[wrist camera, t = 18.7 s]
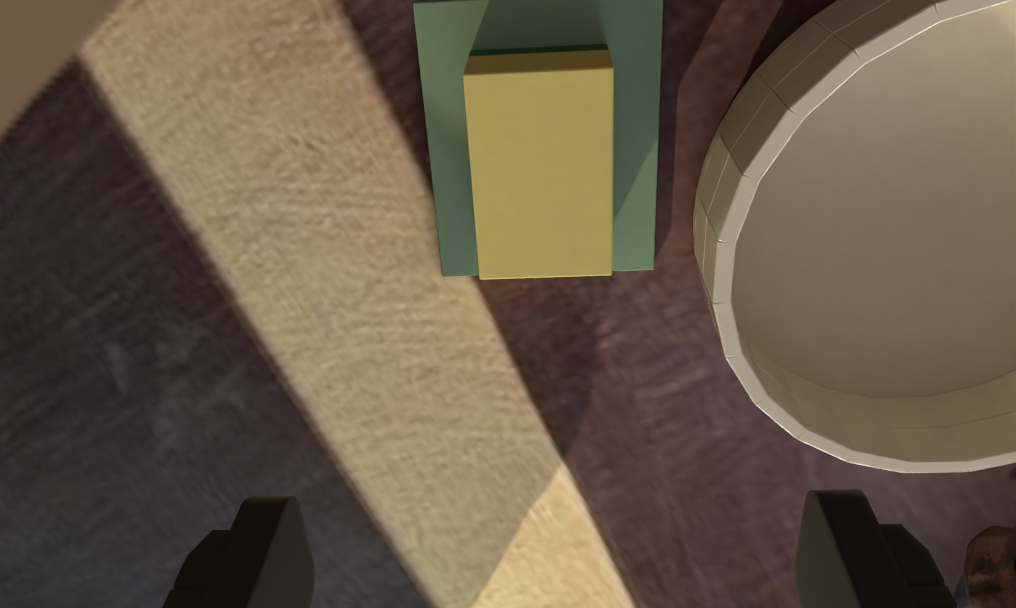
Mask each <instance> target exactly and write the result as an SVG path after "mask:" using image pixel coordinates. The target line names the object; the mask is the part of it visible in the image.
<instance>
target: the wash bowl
mask: <svg viewBox="0 0 1016 608" xmlns="http://www.w3.org/2000/svg"><path fill="white" fill-rule="evenodd" d="M693 243H694V251H695V257H696V262H697V269H698V272H699V275H700V278H701V282H702V286H703V290H704V295H705V299H706V302H707V305H708V308H709V311H710V314H711V317H712V320H713V323H714V326H715V329H716V331H717V334H718V337H719V340H720V343H721V346H722V349H723V352H724V355H725V357H726V360H727V361H728V363H729V364H730V366H731V368H732V369H733V371H734V372H735V374H736V376H737V377H738V379H739V380H740V382H741V384H742V385H743V387H744V388H745V390H746V392H747V393H748V395H749V396H750V398H751V400H752V401H753V402H754V403H755V405H756V406H758V407H759V408H760V409H761V410H762V411H763V412H765V413H766V414H767V415H768V416H769V417H770V418H772V419H773V420H774V421H775V422H776V423H778V424H779V425H780V426H781V427H782V428H783V429H785V430H786V431H787V432H788V433H789V434H791V435H792V436H793V437H794V438H796V439H797V440H800V441H802V442H804V443H806V444H808V445H811V446H813V447H815V448H817V449H819V450H822V451H824V452H826V453H828V454H830V455H833V456H835V457H837V458H839V459H841V460H844V461H847V462H848V463H854V464H859V465H864V466H869V467H875V468H880V469H885V470H890V471H896V472H901V473H905V472H906V473H938V472H968V471H969V472H972V471H976V470H981V469H986V468H991V467H996V466H1001V465H1006V464H1011V463H1016V0H837V1H835V2H834V3H832V4H831V5H829V6H828V7H827V8H825V9H824V10H822V11H821V12H819V13H818V14H816V15H815V16H813V17H812V18H810V19H809V20H808V21H807V22H806V23H804V24H803V25H802V26H801V27H800V28H798V29H797V30H796V31H795V32H794V33H793V34H791V35H790V36H789V37H788V38H787V39H786V40H784V41H783V42H782V43H781V44H780V45H779V46H778V47H777V48H776V49H775V50H774V51H773V52H772V53H771V55H770V56H769V57H768V58H767V59H766V60H765V61H764V62H763V63H762V64H761V65H760V66H759V67H758V68H757V69H756V71H755V72H754V73H753V75H752V76H751V77H750V79H749V80H748V81H747V83H746V84H745V85H744V87H743V88H742V89H741V91H740V92H739V93H738V95H737V96H736V97H735V99H734V101H733V102H732V104H731V106H730V108H729V109H728V111H727V113H726V115H725V116H724V118H723V120H722V122H721V123H720V125H719V127H718V129H717V131H716V133H715V136H714V138H713V140H712V143H711V145H710V148H709V150H708V152H707V155H706V157H705V160H704V164H703V168H702V171H701V175H700V178H699V182H698V186H697V191H696V199H695V206H694V214H693Z"/></svg>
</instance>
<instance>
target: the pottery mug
mask: <svg viewBox="0 0 1016 608" xmlns="http://www.w3.org/2000/svg"><path fill="white" fill-rule="evenodd" d="M964 581H965V586H966V592H967V598H968V601H969V604H970V607H971V608H1016V530H1015V529H1012V528H1009V527H1001V526H991V527H989V528H987V529H985V530H983V531H982V532H981V533H979V534H978V535H977V536H976V537H975V538H973V539H972V540H971V542H970V543H969V544H968V546H967V555H966V558H965V564H964Z"/></svg>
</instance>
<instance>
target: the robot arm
mask: <svg viewBox="0 0 1016 608" xmlns="http://www.w3.org/2000/svg"><path fill="white" fill-rule="evenodd" d="M795 578H796V587H797V593H798V597H799V601H800V604H801V607H802V608H957V604H956V602H955V600H954V599H953V597H952V595H951V593H950V591H949V589H948V587H945V585H944V579H943V577H942V576H941V574H940V572H939V570H938V568H937V566H936V564H935V562H934V560H933V558H932V556H931V554H930V552H929V551H928V549H926V548H925V547H924V546H923V545H922V544H921V543H920V542H919V541H918V540H917V539H916V538H915V537H914V536H913V535H912V534H910V533H909V532H908V531H907V530H906V529H905V528H904V527H903V526H902V525H901V524H879V523H878V521H877V519H876V517H875V515H874V513H873V511H872V508H871V506H870V504H869V502H868V500H867V498H866V496H865V495H864V493H863V492H862V491H861V490H810V491H808V493H807V495H806V499H805V504H804V510H803V516H802V522H801V528H800V534H799V540H798V546H797V553H796V559H795ZM314 579H315V573H314V563H313V558H312V554H311V550H310V546H309V542H308V538H307V534H306V530H305V526H304V522H303V518H302V514H301V510H300V506H299V502H298V500H297V498H296V497H294V496H254V497H247V498H246V499H245V500H244V501H243V503H242V505H241V507H240V509H239V511H238V513H237V516H236V518H235V520H234V522H233V525H232V527H231V529H230V530H212V531H211V532H210V533H209V534H208V535H207V536H206V537H205V538H204V539H203V540H202V541H201V542H200V543H199V544H198V545H197V546H196V547H195V549H194V550H193V551H192V552H191V553H190V554H189V555H188V556H187V558H186V560H185V562H184V564H183V566H182V568H181V570H180V572H179V574H178V576H177V578H176V580H175V582H174V588H173V590H171V591H170V593H169V595H168V597H167V599H166V601H165V603H164V605H163V607H162V608H310V606H311V602H312V598H313V592H314Z"/></svg>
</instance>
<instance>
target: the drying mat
mask: <svg viewBox="0 0 1016 608" xmlns="http://www.w3.org/2000/svg"><path fill="white" fill-rule="evenodd" d="M413 9H414V18H415V27H416V37H417V46H418V55H419V65H420V74H421V83H422V92H423V102H424V111H425V120H426V129H427V139H428V148H429V157H430V166H431V176H432V185H433V194H434V204H435V213H436V222H437V231H438V241H439V250H440V259H441V268H442V276H473V275H479V265H478V253H477V241H476V229H475V217H474V205H473V193H472V180H471V168H470V156H469V144H468V132H467V120H466V108H465V95H464V83H463V74H464V70H465V67H466V64H467V61H468V57H469V54H470V51H471V50H487V49H507V48H528V47H549V46H569V45H590V44H607V45H608V49H609V53H610V56H611V60H612V63H613V67H614V138H613V260H612V271H626V270H653V269H654V248H655V220H656V193H657V165H658V137H659V109H660V81H661V54H662V26H663V0H415V1H414V2H413Z"/></svg>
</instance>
